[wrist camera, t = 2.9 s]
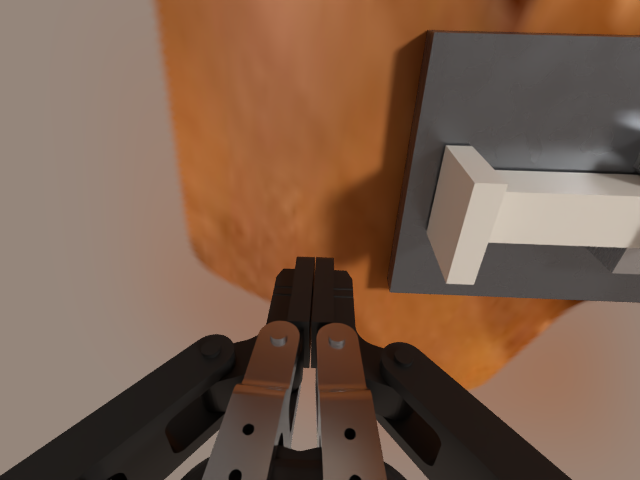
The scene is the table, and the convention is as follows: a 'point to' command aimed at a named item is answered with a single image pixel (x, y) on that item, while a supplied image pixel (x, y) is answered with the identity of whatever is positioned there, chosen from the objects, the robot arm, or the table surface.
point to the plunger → (524, 211)
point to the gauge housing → (522, 151)
